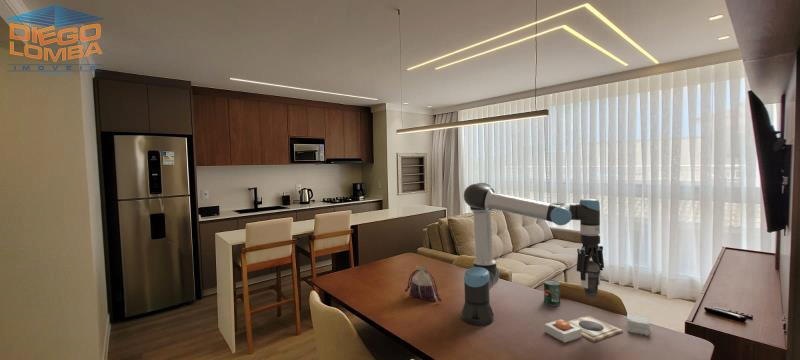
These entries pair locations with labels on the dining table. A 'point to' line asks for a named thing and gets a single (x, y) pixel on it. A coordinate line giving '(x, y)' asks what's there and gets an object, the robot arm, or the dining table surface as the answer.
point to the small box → (638, 324)
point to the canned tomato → (552, 292)
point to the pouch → (422, 285)
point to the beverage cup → (592, 279)
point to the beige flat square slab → (594, 328)
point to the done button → (563, 325)
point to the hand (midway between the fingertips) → (590, 285)
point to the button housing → (563, 332)
